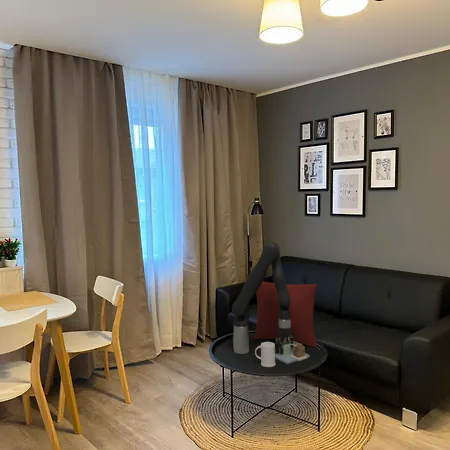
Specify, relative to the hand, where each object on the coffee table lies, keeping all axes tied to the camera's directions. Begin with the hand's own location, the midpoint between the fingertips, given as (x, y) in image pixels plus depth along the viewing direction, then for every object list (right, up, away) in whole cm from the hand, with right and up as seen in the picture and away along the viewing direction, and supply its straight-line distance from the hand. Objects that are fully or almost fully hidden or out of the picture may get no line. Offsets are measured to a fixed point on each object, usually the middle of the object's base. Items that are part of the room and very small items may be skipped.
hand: (285, 352), depth 268 cm
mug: (-13, -3, -12) cm, 18 cm away
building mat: (+3, -2, -3) cm, 4 cm away
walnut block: (+8, -1, -4) cm, 9 cm away
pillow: (+3, 0, +21) cm, 21 cm away
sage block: (0, -1, 0) cm, 1 cm away
